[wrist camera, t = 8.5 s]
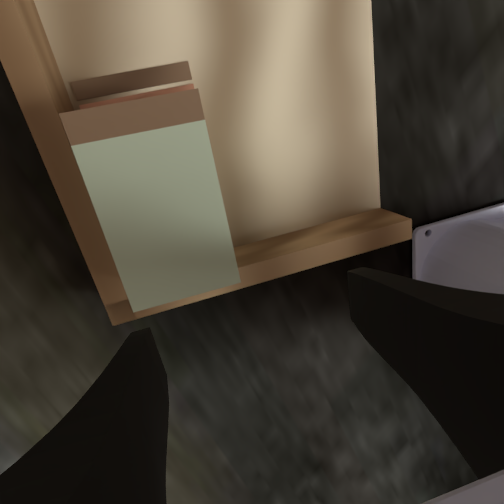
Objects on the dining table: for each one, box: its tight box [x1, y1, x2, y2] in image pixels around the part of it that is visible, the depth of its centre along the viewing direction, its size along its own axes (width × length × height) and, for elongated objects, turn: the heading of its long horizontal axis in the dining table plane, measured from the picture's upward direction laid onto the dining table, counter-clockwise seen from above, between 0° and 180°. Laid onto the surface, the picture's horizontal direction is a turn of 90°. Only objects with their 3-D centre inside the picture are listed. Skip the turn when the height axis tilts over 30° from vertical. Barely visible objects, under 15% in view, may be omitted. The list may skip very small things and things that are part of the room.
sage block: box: [59, 88, 241, 313], centre depth 15 cm, size 8×4×6 cm, turn 10°
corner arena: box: [0, 0, 412, 326], centre depth 16 cm, size 17×17×4 cm
